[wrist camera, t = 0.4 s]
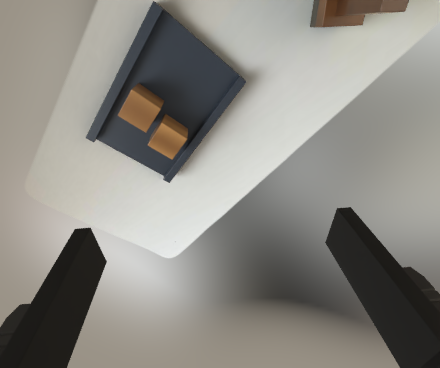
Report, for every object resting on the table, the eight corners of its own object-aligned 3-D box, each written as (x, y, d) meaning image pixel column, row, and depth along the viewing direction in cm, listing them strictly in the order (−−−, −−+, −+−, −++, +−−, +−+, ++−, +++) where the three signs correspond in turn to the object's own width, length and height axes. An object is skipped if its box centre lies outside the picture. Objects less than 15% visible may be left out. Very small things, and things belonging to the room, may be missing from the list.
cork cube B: (165, 113, 34) (162, 122, 31) (188, 128, 36) (187, 139, 32) (151, 134, 36) (147, 145, 32) (174, 148, 37) (172, 159, 34)
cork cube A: (138, 82, 31) (131, 89, 28) (164, 100, 33) (161, 109, 30) (125, 106, 33) (117, 115, 30) (150, 122, 35) (145, 133, 31)
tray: (156, 2, 28) (153, 0, 26) (243, 78, 33) (246, 82, 31) (91, 131, 36) (85, 137, 34) (170, 175, 41) (169, 183, 39)
